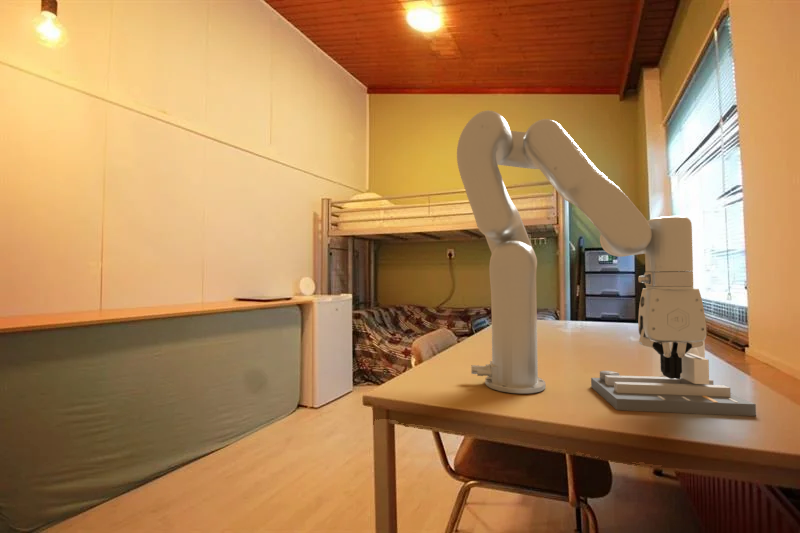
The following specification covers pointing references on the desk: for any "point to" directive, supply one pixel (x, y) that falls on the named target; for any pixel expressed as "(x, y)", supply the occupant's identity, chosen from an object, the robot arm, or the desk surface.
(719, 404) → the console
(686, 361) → the fader
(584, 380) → the desk surface
